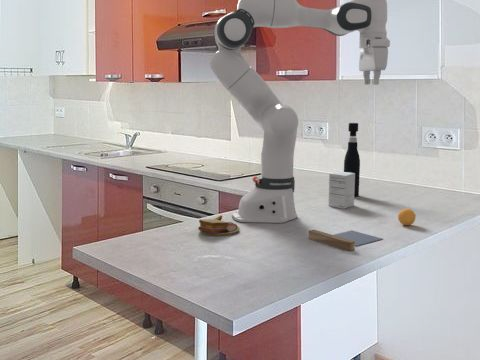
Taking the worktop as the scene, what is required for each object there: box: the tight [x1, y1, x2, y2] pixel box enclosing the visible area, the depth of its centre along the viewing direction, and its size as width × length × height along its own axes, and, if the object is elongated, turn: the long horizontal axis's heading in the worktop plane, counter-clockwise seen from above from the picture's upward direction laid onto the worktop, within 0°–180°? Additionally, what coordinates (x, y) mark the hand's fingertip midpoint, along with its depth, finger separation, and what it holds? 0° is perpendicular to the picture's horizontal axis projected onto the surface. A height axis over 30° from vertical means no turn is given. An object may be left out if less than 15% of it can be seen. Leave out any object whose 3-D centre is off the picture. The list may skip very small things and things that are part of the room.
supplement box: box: [328, 170, 355, 209], centre depth 210 cm, size 7×7×13 cm
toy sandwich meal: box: [198, 214, 240, 237], centre depth 174 cm, size 12×14×5 cm
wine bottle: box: [343, 122, 361, 198], centre depth 227 cm, size 6×6×30 cm
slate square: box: [333, 230, 383, 247], centre depth 167 cm, size 12×12×1 cm
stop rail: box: [308, 229, 356, 252], centre depth 160 cm, size 2×16×2 cm, turn 38°
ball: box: [397, 208, 416, 226], centre depth 182 cm, size 6×6×6 cm
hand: (371, 84), depth 189 cm, fingers open, 8 cm apart
